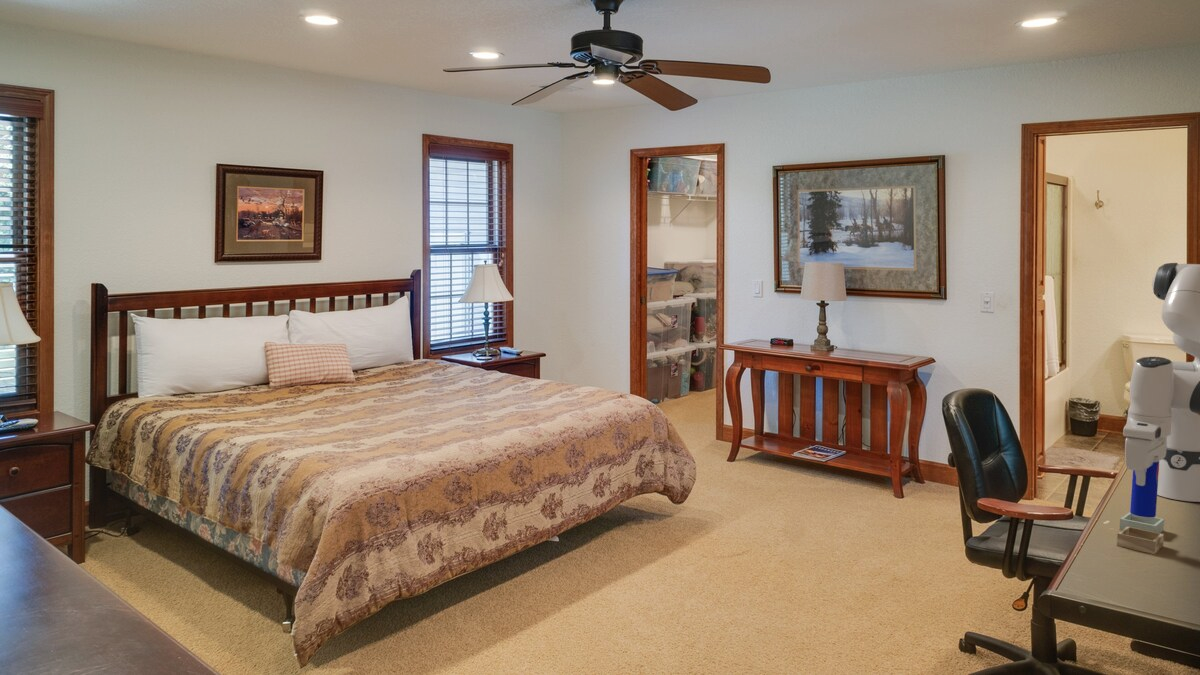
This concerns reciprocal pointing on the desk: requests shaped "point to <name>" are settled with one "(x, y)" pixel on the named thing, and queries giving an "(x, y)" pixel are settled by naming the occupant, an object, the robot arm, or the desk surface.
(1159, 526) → the bin sage
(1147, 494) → the beverage can
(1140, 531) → the bin oak
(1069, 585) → the desk surface
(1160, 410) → the robot arm
